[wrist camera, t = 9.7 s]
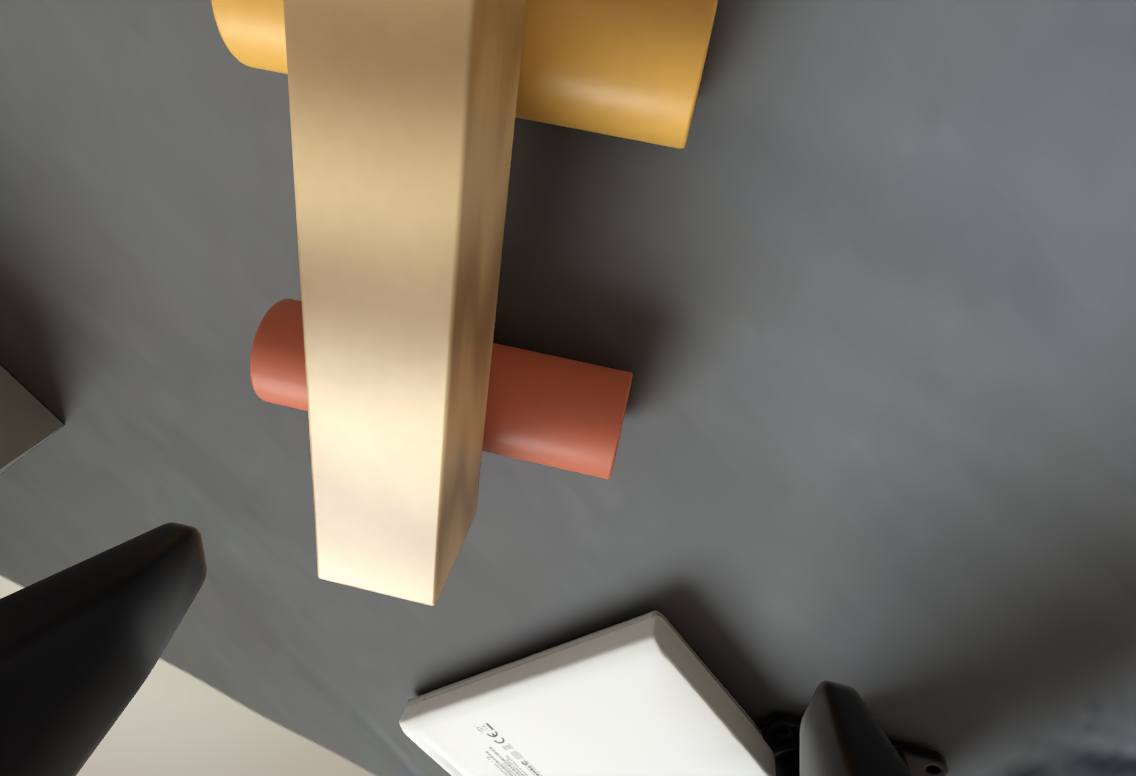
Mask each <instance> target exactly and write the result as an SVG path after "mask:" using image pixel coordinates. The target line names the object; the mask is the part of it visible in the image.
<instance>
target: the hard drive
mask: <svg viewBox="0 0 1136 776" xmlns="http://www.w3.org/2000/svg"><path fill="white" fill-rule="evenodd" d="M399 723H400V726H401V728H402V730H403V732H404V733H405V734H406V735H407V736H408V737H409V738H410V739H411V740H412V741H414V742H415V743H416V744H417V745H418V746H419V747H420V748H421V749H422V750H423V751H424V752H426V753H427V754H428V755H429V756H430V757H431V758H432V759H433V760H435V761H436V762H437V763H438V764H439V765H440V766H441V767H442V768H444V769H445V770H446V771H447V772H448V773H449V774H450V775H451V776H776V772H775V758H774V754H773V750H772V749H771V748H770V747H769V745H768V744H767V743H766V742H765V741H764V740H763V733H762V732H761V731H760V729H759V728H758V727H757V726H756V725H755V723H754V722H753V721H752V720H751V718H750V717H749V716H748V715H747V714H746V712H745V711H744V710H743V709H742V708H741V706H740V705H739V704H738V703H737V702H736V701H735V699H734V698H733V697H732V696H731V695H730V693H729V692H728V691H727V690H726V689H725V688H724V686H723V685H722V684H721V683H720V682H719V681H718V679H717V678H716V677H715V676H714V675H713V674H712V672H711V671H710V670H709V669H708V668H707V666H706V665H705V664H704V663H703V662H702V661H701V660H700V659H699V657H698V656H697V655H696V654H695V652H694V651H693V650H692V649H691V647H690V646H689V645H688V644H687V643H686V642H685V640H684V639H683V638H682V637H681V636H680V634H679V633H678V632H677V631H676V630H675V629H674V627H673V626H672V625H671V624H670V623H669V621H668V620H667V619H666V618H665V617H664V616H663V615H662V614H661V613H660V612H658V611H653V612H650V613H647V614H645V615H642V616H639V617H636V618H634V619H631V620H628V621H625V622H623V623H620V624H617V625H614V626H611V627H608V628H606V629H602V630H599V631H597V632H594V633H592V634H589V635H586V636H583V637H581V638H578V639H576V640H573V641H570V642H567V643H564V644H561V645H558V646H556V647H553V648H550V649H547V650H544V651H542V652H539V653H536V654H533V655H531V656H529V657H526V658H523V659H520V660H517V661H514V662H511V663H508V664H506V665H503V666H500V667H497V668H495V669H492V670H489V671H486V672H484V673H481V674H478V675H475V676H473V677H470V678H467V679H464V680H462V681H459V682H456V683H453V684H451V685H448V686H445V687H442V688H439V689H437V690H434V691H431V692H429V693H426V694H423V695H421V696H418V697H416V698H413V699H409V700H408V703H407V706H406V708H405V710H404V712H403V715H402V717H401V719H400V721H399Z"/></svg>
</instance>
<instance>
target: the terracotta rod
mask: <svg viewBox="0 0 1136 776" xmlns="http://www.w3.org/2000/svg"><path fill="white" fill-rule="evenodd" d="M250 375H251V381H252V385H253V388H254V390H255V392H256V394H257V395H258V396H259V397H260V398H261V399H262V400H264V401H266V402H271V403H275V404H279V405H284V406H288V407H293V408H297V409H301V410H306V411H308V401H307V384H306V368H305V351H304V335H303V318H302V301H297V300H292V299H285V300H281V301H279V302H277V303H276V304H275V305H273V306H272V307H271V308H270V310H269V311H268V312H267V313H266V315H265V316H264V318H263V320H262V321H261V323H260V326H259V328H258V330H257V333H256V336H255V339H254V342H253V346H252V352H251V360H250ZM632 376H633V375H632V373H631V372H627V371H622V370H617V369H613V368H608V367H604V366H599V365H594V364H590V363H585V362H580V361H576V360H571V359H566V358H562V357H557V356H552V355H548V354H543V353H538V352H534V351H529V350H525V349H520V348H515V347H511V346H506V345H501V344H497V343H493V346H492V356H491V366H490V376H489V387H488V397H487V407H486V417H485V427H484V437H483V447H482V451H486V452H490V453H495V454H499V455H504V456H508V457H512V458H517V459H521V460H526V461H530V462H534V463H539V464H543V465H548V466H552V467H556V468H561V469H565V470H570V471H574V472H578V473H583V474H587V475H592V476H596V477H600V478H605V479H609V478H610V477H611V473H612V469H613V464H614V460H615V456H616V451H617V447H618V442H619V438H620V433H621V429H622V424H623V420H624V415H625V410H626V406H627V401H628V396H629V391H630V386H631V381H632Z"/></svg>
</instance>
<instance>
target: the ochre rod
mask: <svg viewBox="0 0 1136 776" xmlns="http://www.w3.org/2000/svg"><path fill="white" fill-rule="evenodd" d="M211 2H212V8H213V12H214V17H215V20H216V23H217V26H218V29H219V32H220V34H221V36H222V38H223V40H224V42H225V44H226V46H227V47H228V49H229V50H230V52H231V53H232V54H233V55H234V56H235V57H236V58H237V59H238V60H239V61H241V62H242V63H243V64H245V65H247V66H249V67H254V68H259V69H264V70H269V71H275V72H280V73H285V74H288V70H287V54H286V37H285V21H284V4H283V0H211ZM717 3H718V0H527V4H526V14H525V24H524V34H523V44H522V54H521V64H520V74H519V84H518V94H517V104H516V114H515V117H516V118H522V119H527V120H532V121H537V122H543V123H548V124H553V125H559V126H564V127H569V128H574V129H580V130H585V131H590V132H595V133H601V134H606V135H611V136H616V137H622V138H627V139H632V140H637V141H643V142H648V143H653V144H658V145H664V146H669V147H674V148H679V149H681V148H684V146H685V145H686V141H687V137H688V133H689V129H690V125H691V121H692V116H693V112H694V108H695V104H696V99H697V95H698V91H699V86H700V82H701V77H702V73H703V68H704V64H705V60H706V55H707V50H708V46H709V41H710V37H711V32H712V28H713V23H714V18H715V13H716V8H717Z"/></svg>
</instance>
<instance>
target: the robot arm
mask: <svg viewBox="0 0 1136 776" xmlns="http://www.w3.org/2000/svg"><path fill="white" fill-rule="evenodd" d="M206 570H207V567H206V560H205V555H204V549H203V543H202V537H201V534H200V532H199V531H198V529H197V528H194V527H191V526H187V525H183V524H179V523H167V524H164V525H162V526H159V527H157V528H155V529H153V530H151V531H148V532H146V533H144V534H142V535H140V536H137V537H135V538H133V539H131V540H129V541H126V542H124V543H122V544H120V545H118V546H116V547H113V548H111V549H109V550H107V551H105V552H102V553H100V554H98V555H96V556H94V557H91V558H89V559H87V560H85V561H83V562H80V563H78V564H76V565H74V566H72V567H69V568H67V569H65V570H63V571H61V572H58V573H56V574H54V575H52V576H50V577H48V578H45V579H43V580H41V581H39V582H37V583H34V584H32V585H30V586H28V587H26V588H23V589H21V590H19V591H17V592H15V593H13V594H11V595H8V596H6V597H4V598H1V599H0V776H76V775H77V773H78V772H79V771H80V769H81V768H82V767H83V765H84V764H85V762H86V761H87V760H88V758H89V757H90V756H91V754H92V753H93V752H94V750H95V749H96V747H97V746H98V745H99V743H100V742H101V741H102V739H103V738H104V736H105V735H106V734H107V732H108V731H109V730H110V728H111V727H112V726H113V724H114V723H115V721H116V720H117V719H118V717H119V716H120V715H121V713H122V712H123V711H124V709H125V708H126V706H127V705H128V704H129V702H130V701H131V699H132V698H133V697H134V695H135V694H136V693H137V691H138V690H139V688H140V687H141V686H142V684H143V683H144V681H145V679H146V678H147V677H148V675H149V674H150V672H151V670H152V669H153V667H154V666H155V664H156V662H157V661H158V659H159V657H160V656H161V654H162V652H163V651H164V649H165V647H166V645H167V644H168V642H169V640H170V639H171V637H172V635H173V634H174V632H175V630H176V629H177V627H178V625H179V623H180V622H181V620H182V618H183V617H184V615H185V613H186V612H187V610H188V608H189V607H190V605H191V603H192V601H193V600H194V598H195V596H196V595H197V593H198V591H199V590H200V588H201V586H202V584H203V582H204V580H205V576H206ZM761 732H762V733H763V740H764V741H765V742H766V743H767V744H768V745H769V747H770V748H771V749H772V750H773V754H774V758H775V772H776V776H945V775H946V774H947V772H948V768H947V765H946V761H945V758H944V756H943V755H942V754H941V753H938V752H936V751H931V750H927V749H923V748H919V747H915V746H911V745H907V744H903V743H899V742H895V741H891V740H889V739H888V738H887V736H886V735H885V733H884V732H883V730H882V729H881V727H880V726H879V724H878V723H877V721H876V719H875V718H874V716H873V715H872V713H871V712H870V710H869V709H868V707H867V706H866V704H865V703H864V701H863V700H862V698H861V697H860V695H859V694H858V693H857V691H855V690H854V689H853V688H852V687H850V686H846V685H842V684H838V683H834V682H830V681H823V682H822V683H820V684H819V686H818V687H817V689H816V691H815V693H814V695H813V697H812V699H811V701H810V703H809V705H808V707H807V709H806V711H805V713H804V715H803V718H798V717H794V716H790V715H786V714H774V715H772V716H770V717H769V718H768V719H767V721H766V723H765V725H764V727H763V729H762V731H761Z"/></svg>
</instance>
